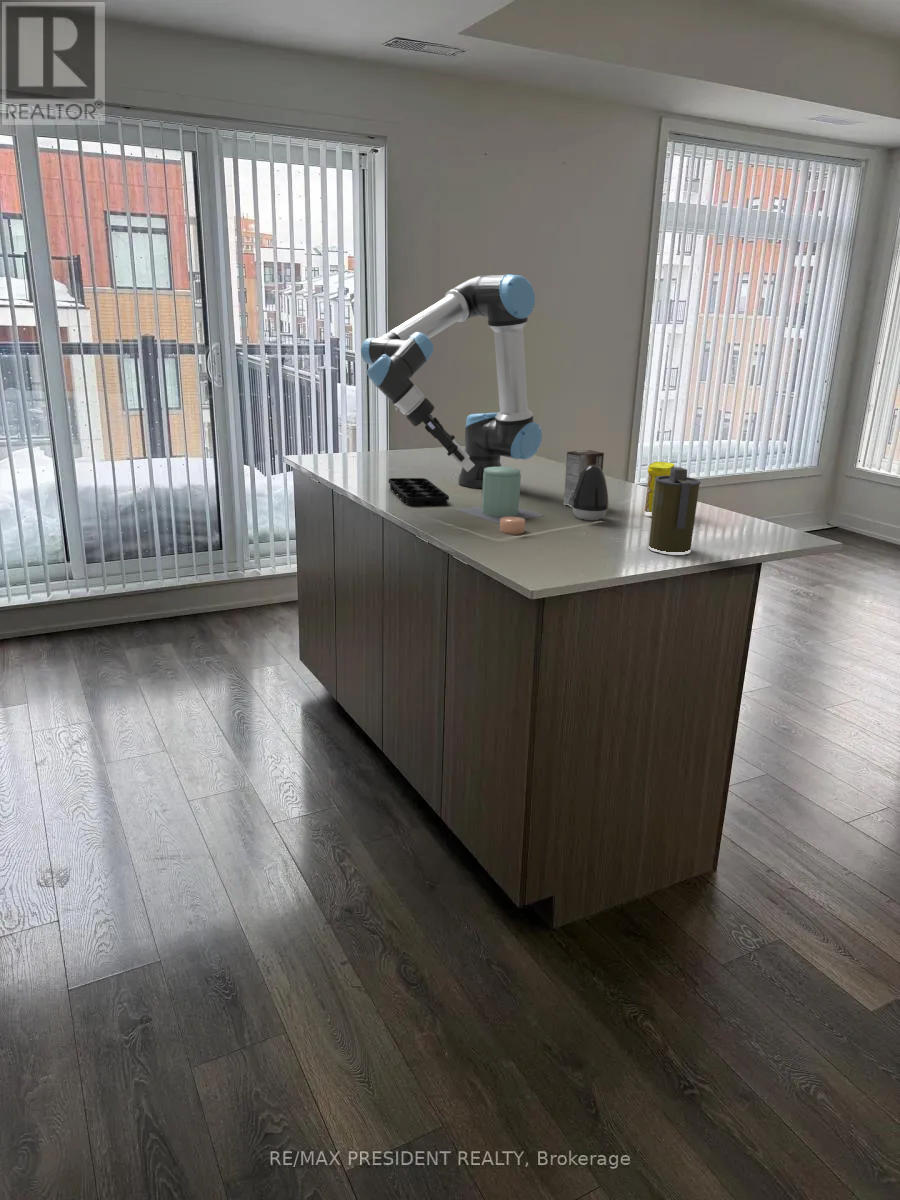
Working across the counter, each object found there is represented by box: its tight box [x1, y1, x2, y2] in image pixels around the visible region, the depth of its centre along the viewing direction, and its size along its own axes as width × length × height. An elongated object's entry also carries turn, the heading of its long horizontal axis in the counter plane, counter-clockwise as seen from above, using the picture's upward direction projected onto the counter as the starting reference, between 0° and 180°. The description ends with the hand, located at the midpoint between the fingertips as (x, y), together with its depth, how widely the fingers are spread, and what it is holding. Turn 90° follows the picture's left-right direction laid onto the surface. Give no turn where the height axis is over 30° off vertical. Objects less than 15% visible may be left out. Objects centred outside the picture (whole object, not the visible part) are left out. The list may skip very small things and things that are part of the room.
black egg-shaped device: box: [571, 465, 610, 521], centre depth 230 cm, size 10×10×15 cm
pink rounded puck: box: [499, 517, 526, 535], centre depth 215 cm, size 6×6×4 cm
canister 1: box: [644, 461, 676, 512], centre depth 239 cm, size 6×11×14 cm, turn 154°
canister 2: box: [648, 466, 701, 552], centre depth 201 cm, size 11×10×20 cm
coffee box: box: [563, 449, 605, 505], centre depth 246 cm, size 9×6×16 cm
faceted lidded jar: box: [481, 466, 522, 517], centre depth 232 cm, size 10×10×12 cm
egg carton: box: [388, 477, 450, 507], centre depth 252 cm, size 18×30×4 cm, turn 28°
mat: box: [455, 505, 545, 524], centre depth 234 cm, size 18×18×1 cm
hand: (468, 464), depth 228 cm, fingers open, 13 cm apart
